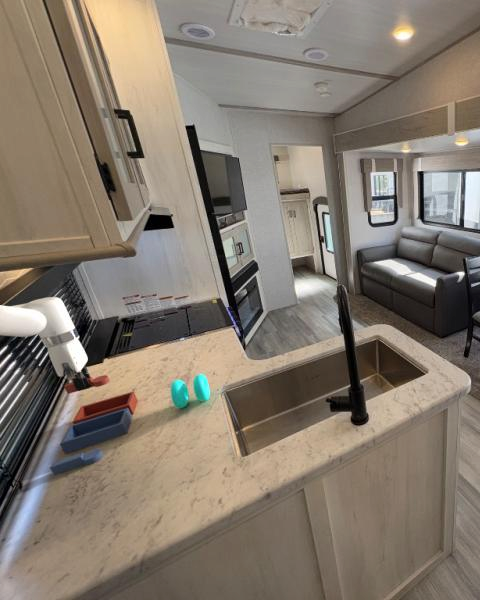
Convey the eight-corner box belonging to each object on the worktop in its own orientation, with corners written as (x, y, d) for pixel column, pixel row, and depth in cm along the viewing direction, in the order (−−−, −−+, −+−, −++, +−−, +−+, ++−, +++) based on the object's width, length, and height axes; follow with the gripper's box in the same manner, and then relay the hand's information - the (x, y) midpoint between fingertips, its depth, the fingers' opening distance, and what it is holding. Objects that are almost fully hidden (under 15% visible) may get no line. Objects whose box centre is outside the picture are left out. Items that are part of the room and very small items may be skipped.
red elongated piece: (66, 395, 97) (62, 388, 96) (70, 389, 100) (66, 382, 99) (108, 384, 102) (104, 376, 101) (111, 378, 105) (107, 371, 104)
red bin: (77, 431, 101) (72, 421, 100) (85, 416, 108) (81, 406, 107) (133, 414, 108) (129, 404, 107) (137, 400, 115) (133, 391, 114)
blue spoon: (52, 478, 84) (47, 470, 83) (58, 467, 88) (53, 460, 87) (101, 460, 89) (97, 453, 88) (104, 451, 93) (101, 444, 92)
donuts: (209, 405, 110) (201, 381, 107) (176, 415, 106) (167, 391, 103) (211, 390, 119) (204, 368, 115) (180, 398, 115) (172, 376, 111)
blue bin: (65, 454, 92) (59, 444, 91) (75, 435, 99) (70, 425, 98) (127, 433, 99) (122, 423, 98) (132, 417, 106) (128, 407, 105)
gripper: (53, 331, 98) (78, 379, 105) (31, 351, 86) (61, 405, 92) (85, 325, 102) (106, 372, 109) (68, 343, 89) (93, 395, 96)
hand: (85, 386), depth 100 cm, fingers closed on red elongated piece
